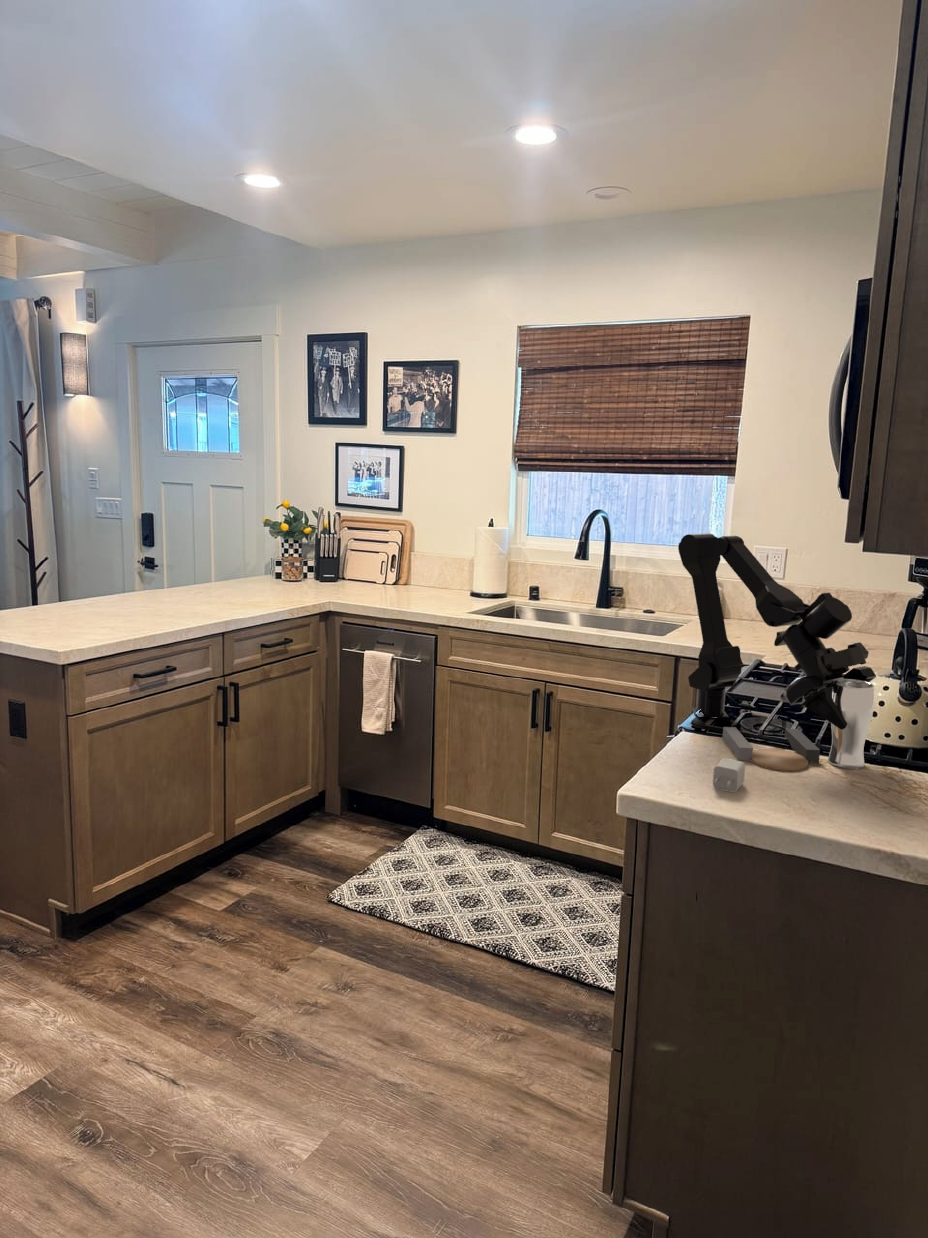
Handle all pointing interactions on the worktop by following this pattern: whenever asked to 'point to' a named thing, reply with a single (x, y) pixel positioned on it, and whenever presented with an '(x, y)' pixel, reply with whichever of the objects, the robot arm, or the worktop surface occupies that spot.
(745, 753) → the grey square beam
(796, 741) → the long grey square rod
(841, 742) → the silver metal cup
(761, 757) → the coaster
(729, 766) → the usb wall charger
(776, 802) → the worktop surface
